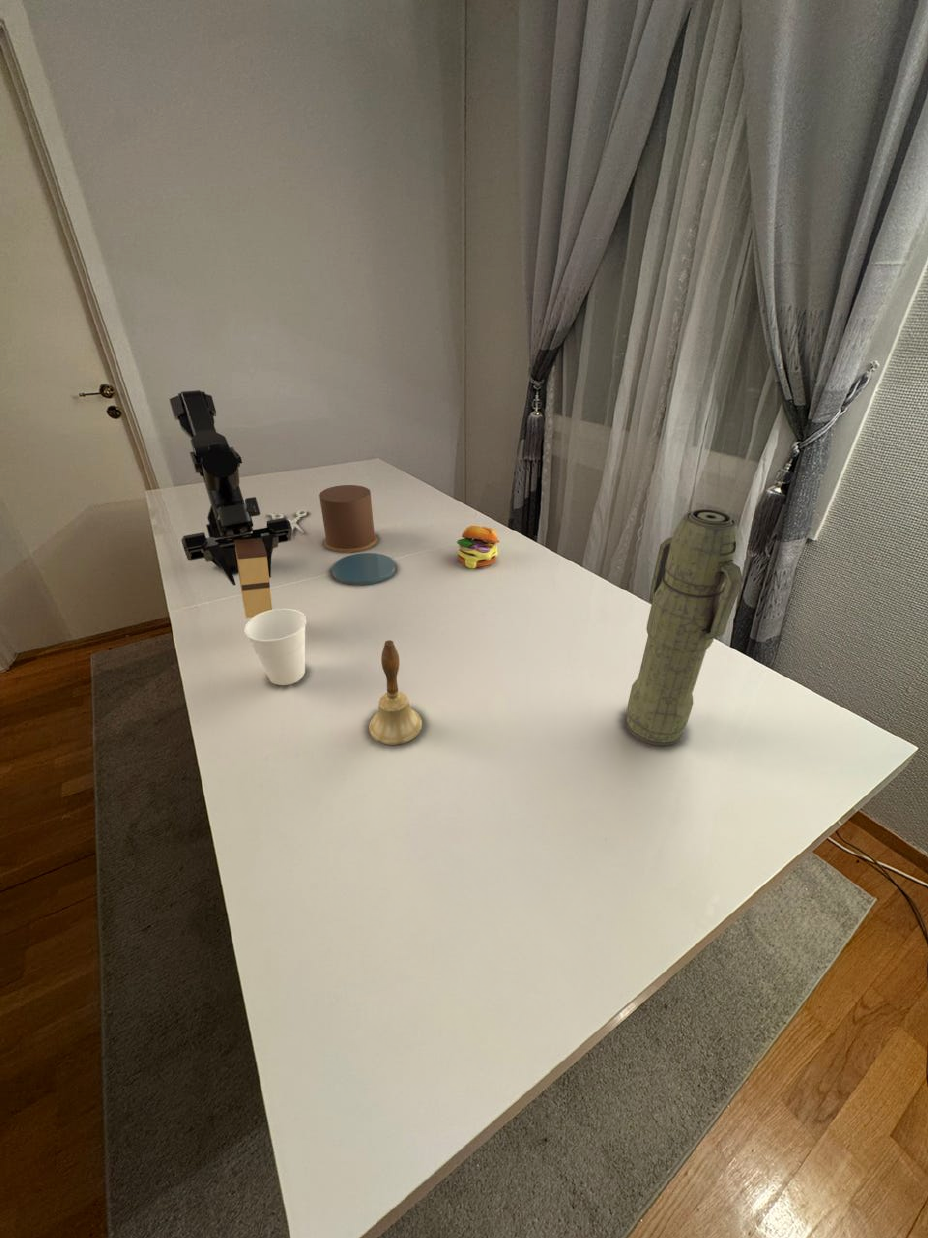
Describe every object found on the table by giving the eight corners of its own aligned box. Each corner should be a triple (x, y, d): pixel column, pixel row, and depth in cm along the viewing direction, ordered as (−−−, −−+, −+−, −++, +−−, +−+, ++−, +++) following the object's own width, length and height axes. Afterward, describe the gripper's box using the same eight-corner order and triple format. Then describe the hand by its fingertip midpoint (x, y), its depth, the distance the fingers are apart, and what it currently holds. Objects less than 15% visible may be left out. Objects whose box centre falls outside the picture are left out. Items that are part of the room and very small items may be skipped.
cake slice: (242, 602, 102) (233, 539, 95) (268, 599, 104) (261, 537, 97) (246, 618, 97) (237, 554, 90) (272, 614, 99) (266, 551, 92)
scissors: (304, 507, 159) (317, 531, 143) (305, 510, 159) (317, 533, 144) (268, 512, 155) (277, 537, 140) (269, 515, 156) (277, 540, 140)
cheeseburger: (449, 565, 128) (452, 525, 124) (465, 558, 137) (468, 520, 134) (488, 572, 125) (492, 531, 121) (501, 564, 134) (505, 525, 131)
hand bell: (374, 707, 85) (364, 626, 77) (424, 708, 85) (420, 627, 76) (364, 744, 78) (352, 660, 70) (419, 746, 78) (414, 662, 69)
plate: (319, 573, 125) (318, 569, 124) (364, 551, 135) (363, 547, 134) (364, 591, 117) (363, 587, 117) (407, 567, 128) (407, 563, 127)
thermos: (667, 762, 76) (736, 541, 57) (606, 715, 84) (648, 508, 65) (703, 737, 80) (779, 523, 61) (642, 695, 88) (692, 495, 69)
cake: (313, 543, 139) (305, 495, 132) (351, 526, 148) (346, 480, 141) (350, 557, 132) (343, 506, 125) (387, 538, 142) (383, 491, 134)
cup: (263, 700, 86) (248, 647, 80) (253, 668, 94) (239, 616, 88) (322, 683, 90) (312, 631, 84) (308, 653, 98) (299, 603, 92)
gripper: (166, 492, 86) (191, 578, 84) (279, 475, 94) (305, 554, 92) (176, 520, 96) (199, 598, 94) (278, 503, 104) (301, 574, 102)
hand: (252, 580), depth 95 cm, fingers closed on cake slice, 6 cm apart
